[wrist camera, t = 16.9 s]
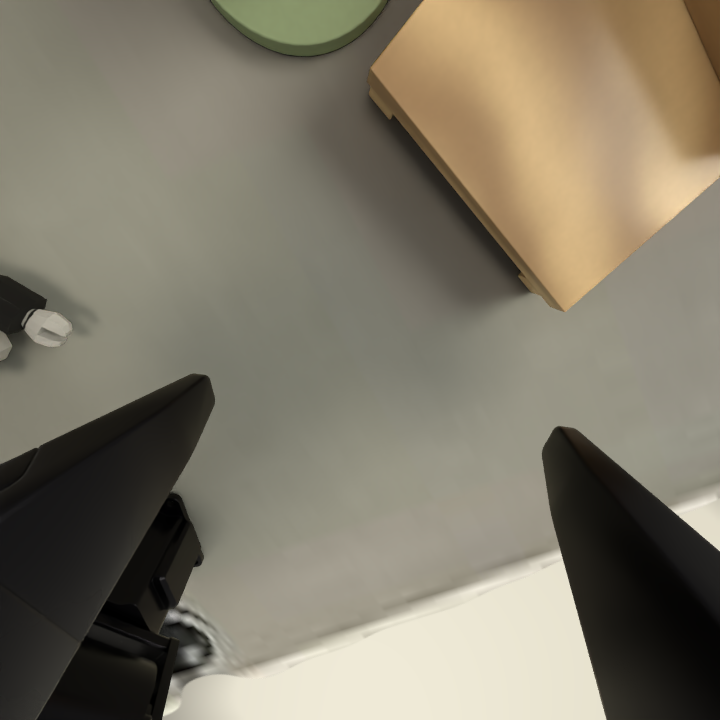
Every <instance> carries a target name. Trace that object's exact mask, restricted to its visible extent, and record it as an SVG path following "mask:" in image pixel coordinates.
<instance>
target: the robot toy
mask: <svg viewBox="0 0 720 720" xmlns="http://www.w3.org/2000/svg"><path fill="white" fill-rule="evenodd" d="M46 302H47V299H45V298H43V297H42V296H40V295H38V294H36V293H35V292H33V291H31V290H30V289H28V288H26V287H25V286H23V285H21V284H19V283H18V282H16V281H14V280H13V279H11V278H9V277H8V276H3V275H0V361H2V360H4V359H6V358H7V356H8V354H9V352H10V350H11V348H12V344H11V343H10V341H9V339H8V337H7V335H8V334H12V333H16V332H19V331H21V330H23V329H24V330H25V331H26V333H27V334H28V335H29V336H30V338H31V339H32V340H33V341H34V342H36V343H39V344H42V345H45V346H48V347H57V346H61V345H63V344H64V343H65V342H66V340H67V339H68V338H66V336H67V335H70V334H71V332H72V331H73V329H72V323H71V322H70V321H68V320H67V319H66V318H65V317H64V316H62V315H61V314H60V313H57V312H52V311H47V310H44V308H45V306H46ZM6 334H7V335H6Z"/></svg>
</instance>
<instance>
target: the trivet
mask: <svg viewBox="0 0 720 720" xmlns="http://www.w3.org/2000/svg"><path fill="white" fill-rule="evenodd" d="M387 1H388V0H211V2H212V3H213V4H214V6H215V7H216V8H217V9H218V11H219V12H220V13H221V14H222V15H223V16H224V17H225V18H226V19H227V20H228V22H230V23H231V24H232V25H233V26H234V27H235V28H236V29H238V30H239V31H240V32H241V33H242V34H244V35H245V36H247V37H248V38H250V39H251V40H253V41H254V42H256V43H258V44H260V45H262V46H264V47H266V48H268V49H270V50H273V51H276V52H279V53H282V54H288V55H294V56H314V55H320V54H325V53H328V52H331V51H334V50H337V49H339V48H341V47H343V46H345V45H346V44H348V43H350V42H351V41H353V40H354V39H355V38H357V37H358V36H359V35H361V34H362V33H363V32H364V31H365V30H366V29H367V28H368V27H369V26H370V25H371V24H372V23H373V22H374V20H375V19H376V18H377V16H378V15H379V14H380V13H381V11H382V10H383V8H384V7H385V5H386V3H387Z"/></svg>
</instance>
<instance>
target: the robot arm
mask: <svg viewBox="0 0 720 720" xmlns="http://www.w3.org/2000/svg"><path fill="white" fill-rule="evenodd" d="M214 404H215V397H214V393H213V389H212V385H211V381H210V378H209V377H208V376H206V375H202V374H190V375H188V376H186V377H184V378H181V379H179V380H177V381H175V382H173V383H171V384H169V385H167V386H165V387H163V388H160V389H158V390H156V391H154V392H152V393H150V394H148V395H146V396H144V397H142V398H140V399H137V400H135V401H133V402H131V403H129V404H127V405H125V406H123V407H121V408H119V409H116V410H114V411H112V412H110V413H108V414H106V415H104V416H102V417H100V418H98V419H95V420H93V421H91V422H89V423H87V424H85V425H83V426H81V427H79V428H77V429H74V430H72V431H70V432H68V433H66V434H64V435H62V436H60V437H58V438H56V439H53V440H51V441H49V442H47V443H45V444H43V445H41V446H40V447H39V448H34V449H32V450H30V451H28V452H26V453H24V454H22V455H20V456H18V457H16V458H13V459H11V460H9V461H7V462H5V463H3V464H0V720H162V717H163V712H164V708H165V704H166V699H167V695H168V690H169V686H170V682H171V677H172V673H173V668H174V664H175V660H176V655H177V651H178V646H179V642H180V640H178V639H175V638H173V637H170V638H167V637H165V636H162V635H160V634H159V631H160V629H161V627H162V624H163V622H164V620H165V617H166V615H167V613H168V610H169V609H174V608H175V607H176V606H177V605H178V603H179V601H180V598H181V596H182V593H183V591H184V589H185V586H186V584H187V581H188V579H189V576H190V574H191V572H192V569H193V567H198V566H200V565H201V564H202V561H203V559H204V556H203V553H202V550H201V545H200V542H199V540H198V537H197V535H196V532H195V529H194V527H193V524H192V522H191V521H190V519H189V516H188V514H187V511H186V509H185V506H184V503H183V501H182V498H181V497H180V496H179V495H178V494H169V493H170V491H171V490H172V488H173V486H174V484H175V483H176V481H177V479H178V478H179V476H180V474H181V473H182V471H183V469H184V468H185V466H186V464H187V462H188V461H189V459H190V457H191V455H192V453H193V451H194V449H195V447H196V445H197V443H198V440H199V438H200V436H201V434H202V432H203V429H204V427H205V425H206V423H207V420H208V418H209V416H210V414H211V412H212V409H213V407H214ZM542 460H543V466H544V473H545V479H546V486H547V492H548V499H549V505H550V511H551V516H552V520H553V524H554V528H555V531H556V535H557V539H558V542H559V546H560V550H561V554H562V557H563V561H564V564H565V568H566V572H567V575H568V579H569V583H570V587H571V590H572V594H573V598H574V601H575V605H576V609H577V612H578V616H579V620H580V624H581V627H582V631H583V635H584V638H585V642H586V646H587V649H588V653H589V657H590V660H591V664H592V667H593V671H594V675H595V679H596V682H597V686H598V690H599V694H600V697H601V701H602V705H603V708H604V712H605V715H606V719H607V720H720V551H719V550H717V549H716V548H715V547H714V546H713V545H712V544H710V543H709V542H708V541H707V540H706V539H705V538H703V537H702V536H701V535H700V534H699V533H698V532H696V531H695V530H694V529H693V528H692V527H691V526H689V525H688V524H687V523H686V522H685V521H683V520H682V519H681V518H680V517H679V516H678V515H676V514H675V513H674V512H673V511H672V510H671V509H669V508H668V507H667V506H666V505H665V504H664V503H662V502H661V501H660V500H659V499H658V498H656V497H655V496H654V495H653V494H652V493H651V492H649V491H648V490H647V489H646V488H645V487H644V486H642V485H641V484H640V483H639V482H638V481H637V480H635V479H634V478H633V477H632V476H631V475H630V474H628V473H627V472H626V471H625V470H624V469H622V468H621V467H620V466H619V465H618V464H617V463H615V462H614V461H613V460H612V459H611V458H610V457H608V456H607V455H606V454H605V453H604V452H603V451H601V450H600V449H599V448H598V447H597V446H595V445H594V444H593V443H592V442H591V441H590V440H588V439H587V438H586V437H585V436H584V435H583V434H581V433H580V432H579V431H578V430H576V429H574V428H569V427H562V426H557V427H556V428H554V430H553V431H552V433H551V435H550V437H549V438H548V440H547V442H546V443H545V445H544V447H543V450H542ZM172 501H173V502H172Z"/></svg>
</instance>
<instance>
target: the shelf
mask: <svg viewBox="0 0 720 720" xmlns="http://www.w3.org/2000/svg"><path fill="white" fill-rule="evenodd" d="M367 82H368V84H369V85H370V86H371V87H370V90H369V96H370V97H371V98H372V99H373V101H374V102H375V103H376V104H377V105H378V107H379V108H380V109H381V110H382V111H383V113H384V114H385V115H386V116H387V118H388V119H391V118H392V117H393V116H395V117H396V118H397V119H398V121H399V122H400V123H401V124H402V125H403V127H404V128H405V129H406V130H407V132H408V133H409V134H410V135H411V137H412V138H413V139H414V140H415V141H416V143H417V144H418V145H419V146H420V148H421V149H422V150H423V151H424V153H425V154H426V155H427V156H428V157H429V159H430V160H431V161H432V162H433V164H434V165H435V166H436V167H437V169H438V170H439V171H440V172H441V173H442V175H443V176H444V177H445V178H446V180H447V181H448V182H449V183H450V184H451V186H452V187H453V188H454V189H455V191H456V192H457V193H458V194H459V196H460V197H461V198H462V199H463V200H464V202H465V203H466V204H467V205H468V207H469V208H470V209H471V210H472V212H473V213H474V214H475V215H476V216H477V218H478V219H479V220H480V221H481V223H482V224H483V225H484V226H485V228H486V229H487V230H488V231H489V232H490V234H491V235H492V236H493V237H494V239H495V240H496V241H497V242H498V244H499V245H500V246H501V247H502V248H503V250H504V251H505V252H506V253H507V255H508V256H509V257H510V258H511V259H512V261H513V262H514V263H515V264H516V266H517V267H518V268H519V269H520V271H521V273H520V274H519V275H518V277H519V278H520V279H521V281H522V282H523V283H524V284H525V285H526V287H527V288H528V289H529V290H530V292H531V293H534V294H537V295H540V296H542V298H543V299H544V300H545V301H546V303H547V304H548V305H549V306H550V307H552V308H555V309H557V310H560V311H563V312H566V311H567V310H568V309H569V308H570V307H571V306H573V305H574V304H575V303H576V302H577V301H578V300H579V299H581V298H582V297H583V296H584V295H585V294H586V293H588V292H589V291H590V290H591V289H592V288H593V287H594V286H596V285H597V284H598V283H599V282H600V281H601V280H602V279H604V278H605V277H606V276H607V275H608V274H609V273H610V272H612V271H613V270H614V269H615V268H616V267H617V266H618V265H620V264H621V263H622V262H623V261H624V260H625V259H627V258H628V257H629V256H630V255H631V254H632V253H633V252H635V251H636V250H637V249H638V248H639V247H640V246H641V245H643V244H644V243H645V242H646V241H647V240H648V239H649V238H651V237H652V236H653V235H654V234H655V233H656V232H657V231H659V230H660V229H661V228H662V227H663V226H664V225H666V224H667V223H668V222H669V221H670V220H671V219H672V218H674V217H675V216H676V215H677V214H678V213H679V212H680V211H682V210H683V209H684V208H685V207H686V206H687V205H688V204H690V203H691V202H692V201H693V200H694V199H695V198H696V197H698V196H699V195H700V194H701V193H702V192H703V191H705V190H706V189H707V188H708V187H709V186H710V185H711V184H713V183H714V182H715V181H716V180H717V179H718V178H719V177H720V0H423V1H422V2H421V4H420V5H419V6H418V7H417V9H416V10H415V11H414V13H413V14H412V15H411V16H410V18H409V19H408V20H407V21H406V23H405V24H404V25H403V27H402V28H401V29H400V30H399V32H398V33H397V34H396V35H395V37H394V38H393V39H392V40H391V42H390V43H389V44H388V46H387V47H386V48H385V49H384V51H383V52H382V53H381V54H380V56H379V57H378V58H377V60H376V61H375V62H374V63H373V65H372V66H371V67H370V70H369V75H368V79H367Z"/></svg>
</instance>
